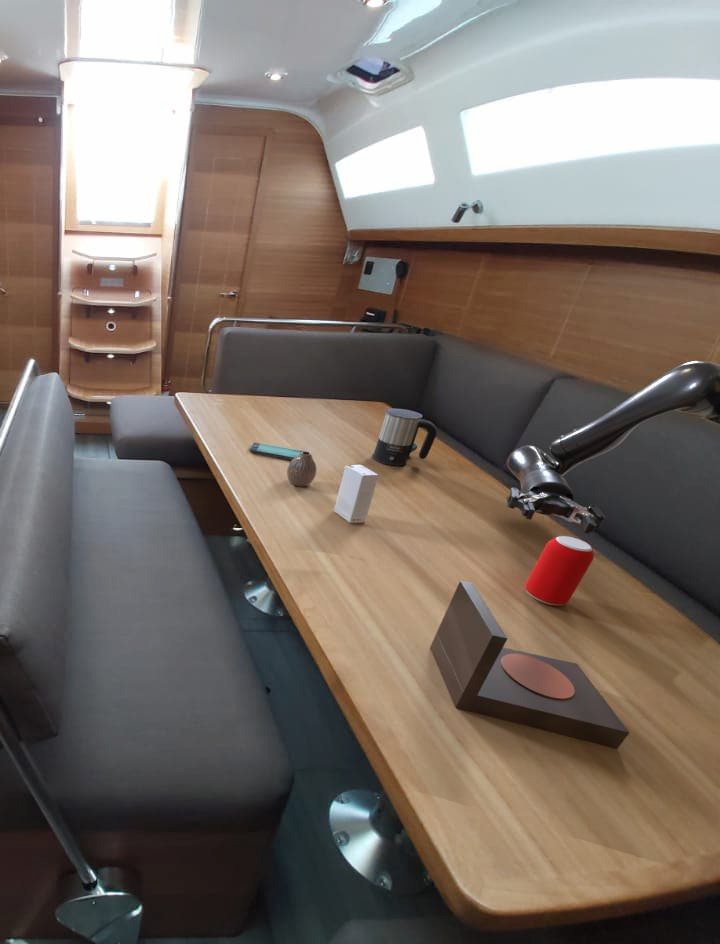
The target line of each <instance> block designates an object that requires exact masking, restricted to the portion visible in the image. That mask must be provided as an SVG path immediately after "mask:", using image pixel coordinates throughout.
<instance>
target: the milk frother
mask: <svg viewBox="0 0 720 944" xmlns="http://www.w3.org/2000/svg"><path fill="white" fill-rule="evenodd" d="M384 414H385V416H384V420H383V423H382V426H381V428H380V429H381V430H380V433H379V436H378V440H377V443H376V445H375V449H374V451H373V453H372V455H371V457H372V459H373V460H375V461H376V462H379V463H381V464H385V465H389V466H397V467H398V466H400V467H401V466H405V465H407V464H408V459H409V458H410V456H411V453H413V452H415V451H416V450H417V449H418V444H416V443H415V441H416V437H417V434H418V431H419V428H422V429H425V430H426V431H427V433H426V435H425V438H424V440H423V442H422V445H421V447H420V450H419V452H418V458H420V459H422V460H425V459H426V458H427V457H428V454H429V452H430V451H431V449H432V446H433V444H434V442H435V440H436V438H437V435H438V434H437V433H438V430H437V427H436V425H435V424H434V422H432V421H430V420H426V419H421V418H423V414H421V413H419V412H417V411H413V410H410V409H404V408H387V409H385V410H384Z"/></svg>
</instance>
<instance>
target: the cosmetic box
mask: <svg viewBox="0 0 720 944" xmlns="http://www.w3.org/2000/svg"><path fill="white" fill-rule="evenodd" d="M378 480H379V474H378V473H376V472H374V471H373V470H371V469H370V468H367V467H366V466H364V465H362V464H350V465H349V464H348V465H345V466H344V470H343V474H342V478H341V481H340V486H339V490H338V493H337V497H336V501H335V506H334V509H333V511H334V512H335V513H336V514H337V515H338V516H339V517H341V518H342V519H344V520H345V521H347V522H348V523H349V524H361V523H366V520H367V517H368V513H369V510H370V507H371V503H372V500H373V496H374V493H375V489H376V486H377V483H378Z"/></svg>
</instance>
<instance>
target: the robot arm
mask: <svg viewBox="0 0 720 944" xmlns="http://www.w3.org/2000/svg"><path fill="white" fill-rule="evenodd" d="M674 411H676V412H680V413H683V414H686V415H689V416H692V417H695V418H698V419H702V420H705V421H709V422H712V423H714V424H717V425H719V426H720V364H719V363H716V362H711V361H705V360H694V361H689V362H686V363H683V364H680V365H678V366H676V367H674V368H672V369H670V370H668V371H667V372H665V373H664V374H661V375H660V376H659V377H657V378H655V379H654V380H653V381H651V382H649V383H648V384H647V385H645V386H644V387H641V389H640V390H638V391H636V392H635V393H633V394H632V395H630V396H628V397H627V398H625V400H623V401H621V402H620V403H618V404H617V405H615V406H614V407H612V408H611V409H609V410H608V411H606V412H605V413H603V414H602V415H600V416H598V417H596V418H595V419H593V420H591V421H589V422H587V423H585V424H582V425H580V426H579V427H577V428H575V429H573V430H570V431H568V432H567V433H564V434H562V435H561V436H558V437H556V438H555V439H553V440H552V441H551V442H550V444H549V450H550V453H551V455H552V456H553V458H552V457H551V456H550V455H548V454H547V453H545V451H543V450H542V449H540V448H539V447H537V446H535V445H522V446H519V447H517V448H515V449H513V450H512V451H511V452H510V453H509V455H508V456H507V459H506V466H507V468H508V470H509V471H510V472H511V473H512V474H513V475H514V477H515V478H516V479H517V480H518V481H519V484H520V489H519V488H517V487H511V488H510V489H509V492H508V493H507V496H506V507H507V508H509V509H513V510H514V509H515V508H516V509H518V511H519V512H520V513H521V516H523V517H524V518H525V520H529V521H531V520H532V518H533V516H534V515H535V513H537V514H540V515H546V516H555V517H559V518H561V519H563V520H565V521H567V522H568V523H576V524H578V525H579V527H580V529H581V531H582V533H584V534H587V535H589V534H590V533H593V532H594V530H595V529H601V527H602V525H603V522H605V520H606V518H607V517H606V515H605V514H604V512H602V510H601V509H600V508H599V507H598V506H597V505H595V504H589V505H588V507H586V506H582V505H580V504H579V503H578V502H576V501H575V497H574V492H573V491H572V489H571V488H570V486H569V484H568V482H567V481H566V478H565V477H563V476H565V475H566V474H567V473H569V472H570V471H571V470H572V469H574V468H576V467H577V466H579V465H580V464H583V463H585V462H587V461H589V460H593V459H594V458H597V457H599V456H601V455H604V454H606V453H608V452H609V451H611V450H613V449H616V447H618V446H619V445H620V444H621V443H623V442H624V440H625V439H626V438H627V437H628V436H629V435H630V434H631V433H632V432H633V430H634V429H635V428H637V427H638V426H639V425H641V424H642V423H644V422H646V421H648V420H650V419H652V418H655V417H658V416H661V415H663V414H666V413H670V412H674ZM581 517H582V519H581Z"/></svg>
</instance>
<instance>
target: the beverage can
mask: <svg viewBox="0 0 720 944" xmlns="http://www.w3.org/2000/svg"><path fill="white" fill-rule="evenodd" d="M594 557H595V555H594V550H593V547H592V546H591V545H590V544H589V543H587V542H585V541H584V540H581V539H578V538H575V537H572V536H568V535H560V536H559V535H558V536H555V537H554V538H552V539H550V540H549V541H548V542H547V543H546V545H545V546H544V548H543V550H542V552H541V554H540V556H539V558H538V560H537V561H536V563H535V565H534V567H533V569H532V571H531V574H529V577H528V579H527V581H526V583H525V584H524V589H525V591H526V593H527V594H528V595H530V596H531V597H532V598H533V599H535V600H536V601H538V602H540V603H542V604H546V605H549V606H565V605H567V604H568V603H569V602H570V600H571V598H572V596H573V595H574V593H575V592H576V589H577V588H578V586H579V585H580V582H581V581H582V579H583V578H584V576H585V574H586V572H587V571H588V569H589V567H590V565H591V564H592V562H593V561H594Z"/></svg>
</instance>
